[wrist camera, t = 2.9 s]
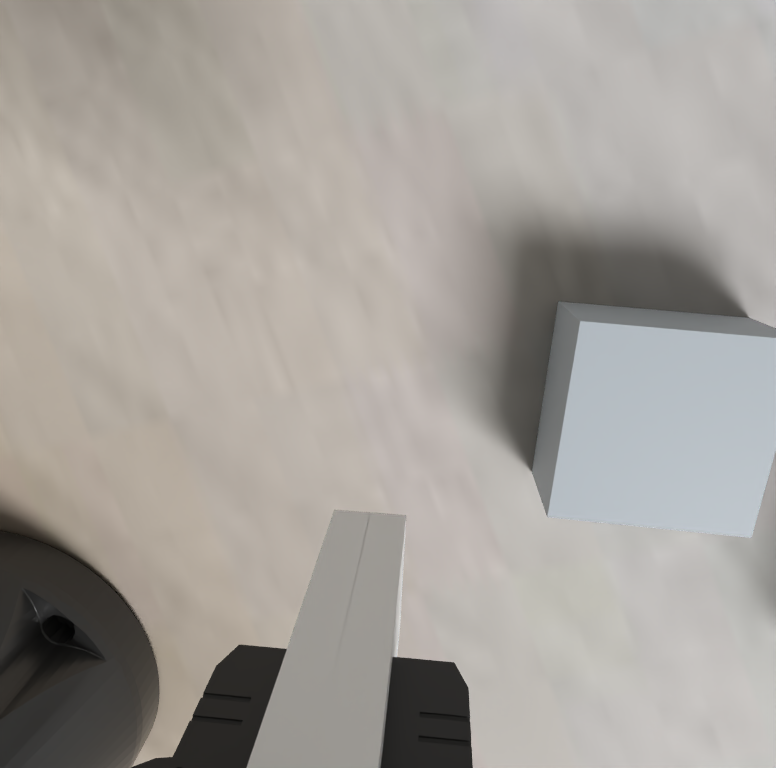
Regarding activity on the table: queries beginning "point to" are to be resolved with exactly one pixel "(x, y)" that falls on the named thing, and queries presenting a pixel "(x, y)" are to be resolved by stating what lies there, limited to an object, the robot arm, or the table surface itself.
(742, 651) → the table surface
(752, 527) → the block
